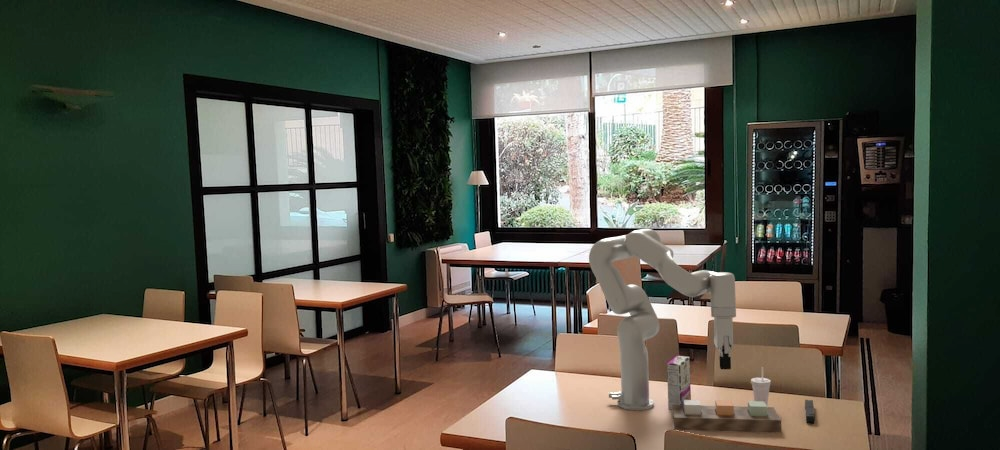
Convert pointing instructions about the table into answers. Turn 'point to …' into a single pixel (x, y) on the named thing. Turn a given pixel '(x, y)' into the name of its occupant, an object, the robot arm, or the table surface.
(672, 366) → the candy bar box
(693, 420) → the console
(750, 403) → the sage button
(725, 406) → the tan block
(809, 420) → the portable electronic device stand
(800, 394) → the table surface
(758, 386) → the smoothie
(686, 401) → the grey button
